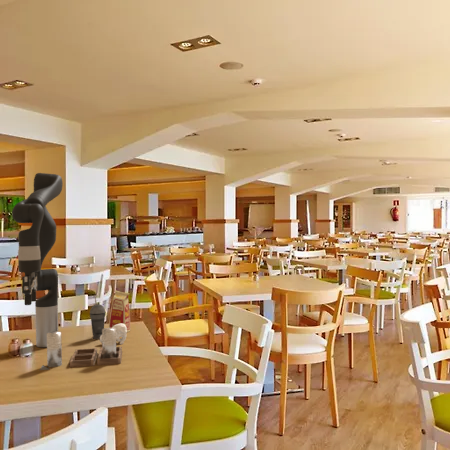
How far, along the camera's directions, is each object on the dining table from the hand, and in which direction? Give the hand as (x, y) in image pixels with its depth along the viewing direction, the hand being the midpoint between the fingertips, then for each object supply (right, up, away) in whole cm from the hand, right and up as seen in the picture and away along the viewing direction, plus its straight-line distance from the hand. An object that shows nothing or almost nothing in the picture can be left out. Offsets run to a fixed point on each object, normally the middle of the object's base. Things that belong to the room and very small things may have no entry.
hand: (30, 303), depth 176 cm
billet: (+28, -23, +5) cm, 36 cm away
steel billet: (+8, -23, +1) cm, 25 cm away
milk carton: (+20, -24, +62) cm, 69 cm away
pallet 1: (+17, -24, +8) cm, 30 cm away
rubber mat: (+8, -24, +1) cm, 25 cm away
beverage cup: (+12, -24, +48) cm, 55 cm away
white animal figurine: (+22, -24, +36) cm, 49 cm away
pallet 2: (+27, -24, +9) cm, 37 cm away
